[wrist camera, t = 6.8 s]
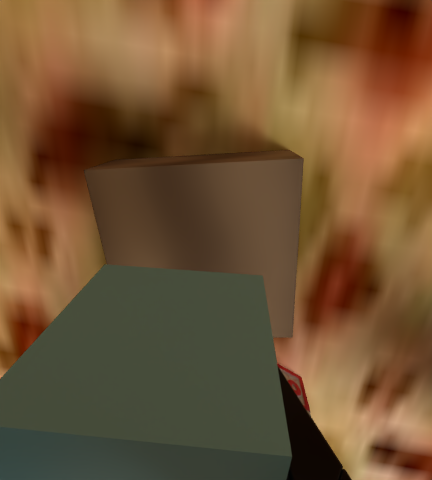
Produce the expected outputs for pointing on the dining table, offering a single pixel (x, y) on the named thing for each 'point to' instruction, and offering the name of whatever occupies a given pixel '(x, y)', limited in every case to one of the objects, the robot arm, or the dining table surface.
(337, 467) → the robot arm
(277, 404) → the teal cube
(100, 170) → the walnut block
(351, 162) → the dining table surface
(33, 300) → the dining table surface
